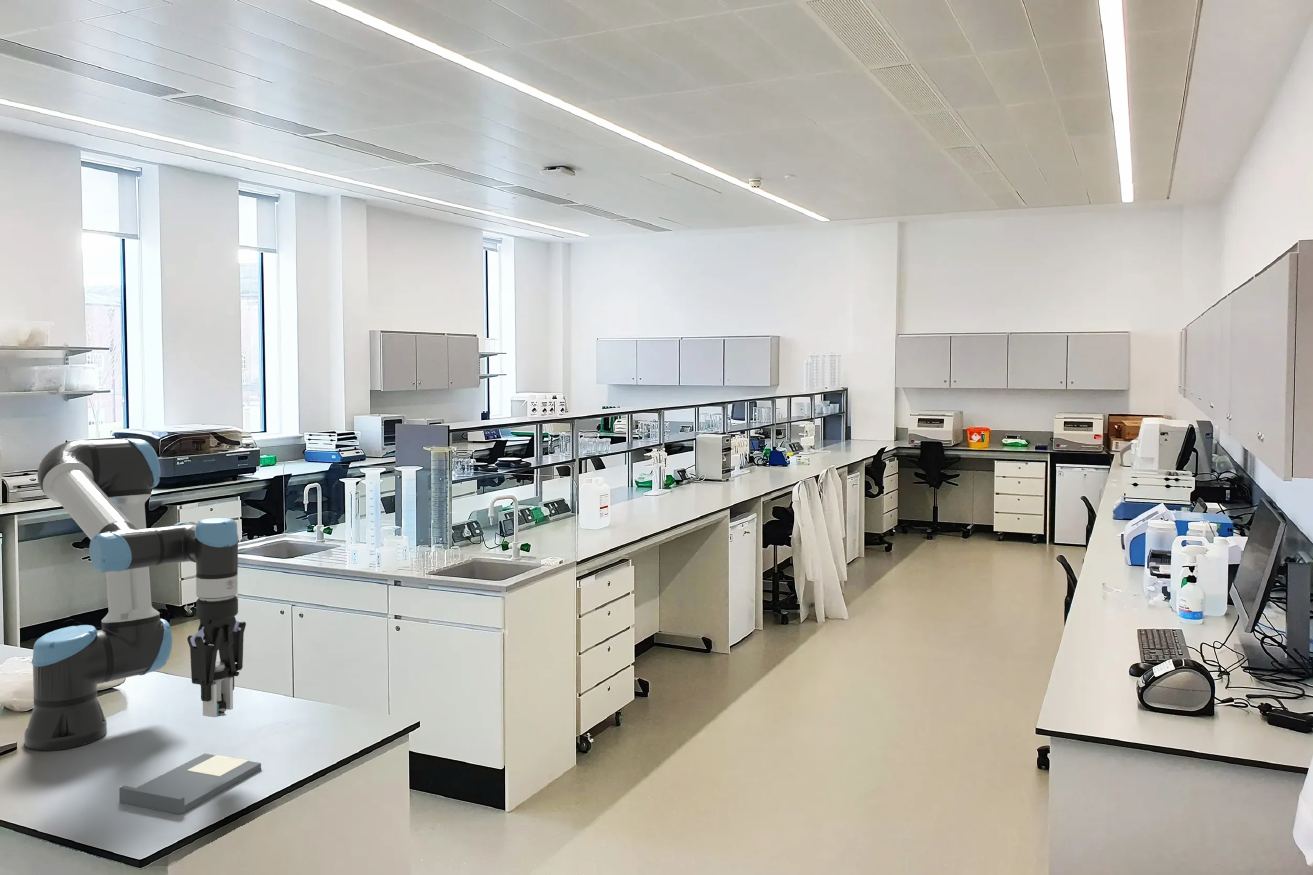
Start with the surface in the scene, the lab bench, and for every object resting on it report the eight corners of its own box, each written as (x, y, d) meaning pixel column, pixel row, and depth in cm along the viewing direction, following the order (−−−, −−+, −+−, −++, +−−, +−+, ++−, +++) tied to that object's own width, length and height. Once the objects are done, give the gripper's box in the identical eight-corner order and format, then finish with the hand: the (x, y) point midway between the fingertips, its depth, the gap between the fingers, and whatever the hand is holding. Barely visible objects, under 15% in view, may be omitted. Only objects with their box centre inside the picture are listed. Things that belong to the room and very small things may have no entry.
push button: (237, 714, 186) (237, 665, 185) (210, 721, 181) (210, 671, 181) (222, 706, 190) (221, 658, 189) (195, 713, 186) (195, 664, 185)
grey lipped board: (119, 802, 172) (119, 787, 172) (204, 758, 192) (204, 745, 192) (180, 814, 168) (180, 799, 168) (260, 768, 188) (260, 755, 188)
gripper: (200, 607, 175) (201, 729, 177) (262, 589, 191) (262, 700, 193) (168, 604, 177) (169, 724, 179) (232, 586, 193) (233, 696, 195)
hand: (218, 711), depth 186 cm, fingers closed on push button, 4 cm apart
